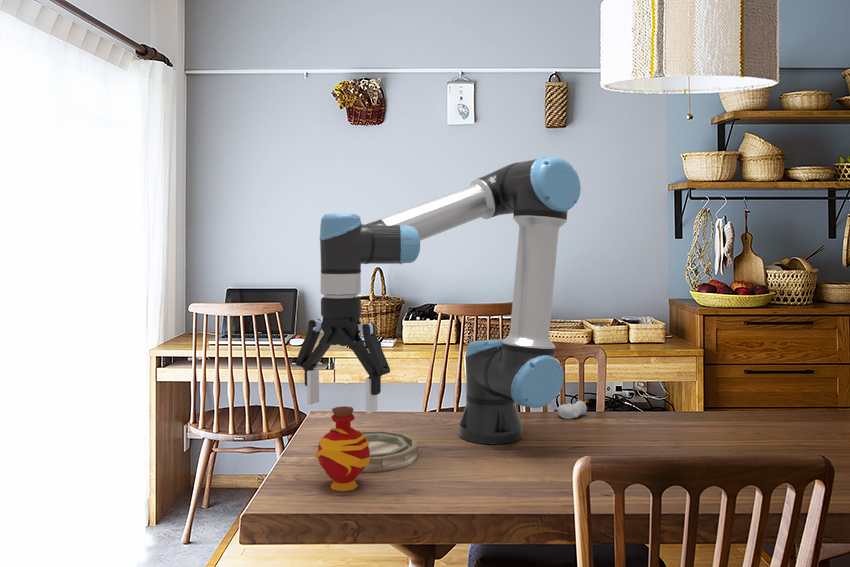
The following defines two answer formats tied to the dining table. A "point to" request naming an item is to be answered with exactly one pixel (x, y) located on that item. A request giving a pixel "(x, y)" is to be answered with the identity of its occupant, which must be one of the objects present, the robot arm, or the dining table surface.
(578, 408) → the pale two-lobed sculpture
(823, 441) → the dining table surface
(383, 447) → the tray
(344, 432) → the potion bottle
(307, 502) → the dining table surface
